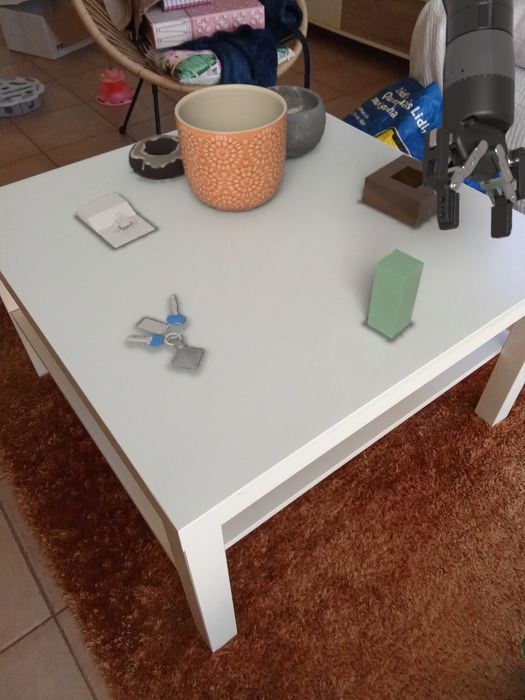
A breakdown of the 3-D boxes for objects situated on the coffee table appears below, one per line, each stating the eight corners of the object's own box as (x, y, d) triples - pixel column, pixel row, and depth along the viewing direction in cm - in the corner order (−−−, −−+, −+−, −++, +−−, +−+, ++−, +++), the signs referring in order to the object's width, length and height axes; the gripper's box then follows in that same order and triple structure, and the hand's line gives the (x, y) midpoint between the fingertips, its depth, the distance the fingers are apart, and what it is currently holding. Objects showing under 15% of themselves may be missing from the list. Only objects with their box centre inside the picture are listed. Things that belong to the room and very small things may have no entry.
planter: (166, 209, 94) (152, 119, 82) (217, 162, 104) (210, 76, 93) (258, 234, 88) (255, 142, 77) (302, 182, 98) (305, 94, 87)
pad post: (385, 309, 76) (396, 248, 69) (409, 323, 74) (424, 262, 67) (366, 324, 74) (376, 263, 67) (391, 339, 72) (404, 278, 65)
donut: (145, 148, 108) (142, 128, 105) (203, 155, 106) (201, 134, 103) (120, 179, 100) (115, 158, 97) (182, 187, 98) (179, 165, 95)
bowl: (238, 138, 110) (236, 85, 103) (313, 130, 112) (315, 78, 104) (251, 176, 100) (249, 121, 93) (332, 168, 102) (336, 113, 94)
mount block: (399, 177, 99) (403, 153, 96) (452, 200, 94) (458, 175, 90) (361, 202, 94) (364, 177, 91) (415, 227, 89) (420, 202, 85)
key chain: (210, 365, 69) (209, 361, 69) (145, 387, 67) (144, 383, 66) (175, 297, 78) (174, 292, 77) (116, 314, 76) (115, 310, 75)
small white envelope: (116, 199, 96) (113, 185, 94) (155, 229, 90) (153, 215, 88) (77, 215, 93) (73, 202, 91) (115, 248, 86) (111, 234, 85)
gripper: (460, 55, 56) (458, 220, 56) (549, 89, 63) (546, 234, 63) (406, 85, 62) (404, 232, 62) (491, 112, 69) (489, 244, 70)
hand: (475, 233), depth 63 cm, fingers open, 8 cm apart
